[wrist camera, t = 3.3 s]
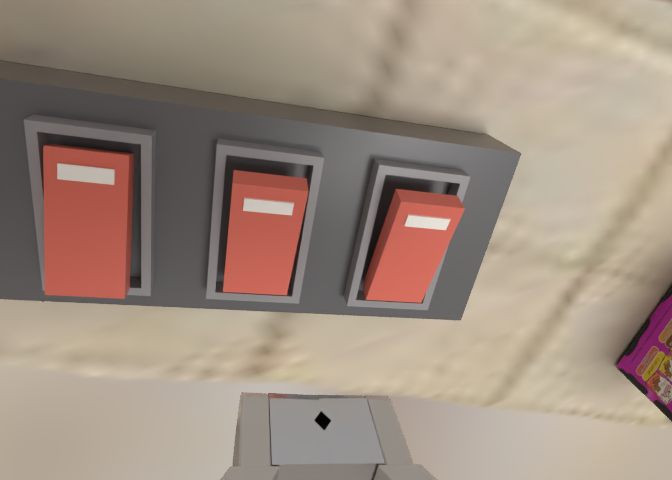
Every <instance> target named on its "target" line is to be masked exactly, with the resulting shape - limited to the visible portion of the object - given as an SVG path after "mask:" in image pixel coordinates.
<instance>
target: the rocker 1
mask: <svg viewBox="0 0 672 480" xmlns="http://www.w3.org/2000/svg"><path fill="white" fill-rule="evenodd" d="M43 167H44V256H45V295H57V296H77V297H97V298H118V299H125V297H126V295H127V294H128V292H129V290H130V265H131V237H132V209H133V180H134V153H127V152H118V151H110V150H101V149H93V148H85V147H76V146H68V145H59V144H49V145H44V146H43Z"/></svg>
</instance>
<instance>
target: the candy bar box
mask: <svg viewBox="0 0 672 480" xmlns="http://www.w3.org/2000/svg"><path fill="white" fill-rule="evenodd" d="M616 367H617V369H618V370H619V371H620V372H622V373H623V374H624V375H625V376H626V378H627V379H629V380H630V381H631V382H632V383H633V384H634V385H635V386H636V387H637V388H638V389H639V390H640V391H641V392H642V393H643V394H644V395H645V396H646V397H647V398H648V399H649V400H650V401H651V402H652V403H654V404H655V405H656V406H657V407H658V408H659V409H660V410H661V411H662V412H663V413H664V414H665V415H666V416H667V417H668V418H669V419H670V420H671V421H672V287H671V288H670V289H669V291H668V292H667V294H666V295H665V297H664V298H663V299H662V301H661V302H660V304H659V305H658V307H657V308H656V309H655V311H654V312H653V314H652V315H651V317H650V318H649V319H648V321H647V322H646V324H645V325H644V327H643V328H642V329H641V331H640V332H639V334H638V336H637V337H636V338H635V340H634V341H633V343H632V344H631V345H630V347H629V348H628V350H627V351H626V353H625V354H624V356H623V357H622V358H621V360H620V361H619V363H618V365H617V366H616Z"/></svg>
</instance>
